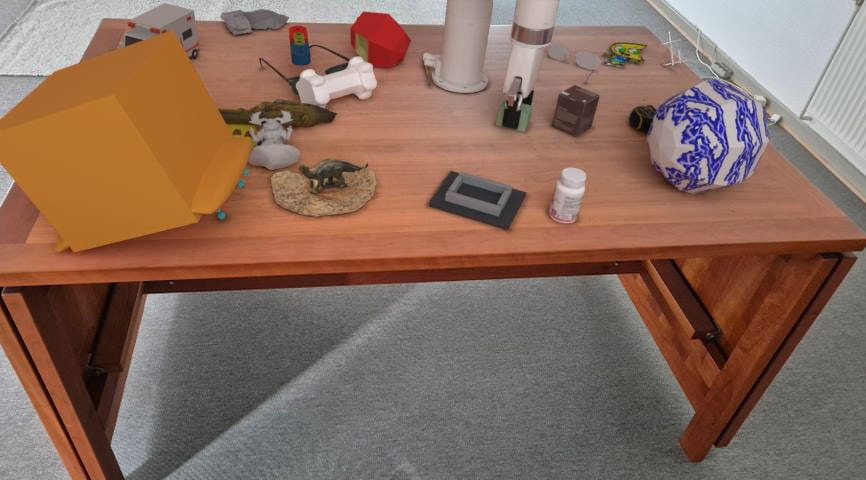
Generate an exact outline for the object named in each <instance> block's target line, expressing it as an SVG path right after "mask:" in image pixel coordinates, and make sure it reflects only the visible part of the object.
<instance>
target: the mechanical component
mask: <svg viewBox="0 0 866 480" xmlns="http://www.w3.org/2000/svg"><path fill="white" fill-rule="evenodd" d="M288 37H289V39H288V40H289V47H290V59H291V64H292V65H294V66H299V67H304V66H309V65H311V62H312V61H311V60H312V59H311V48H310V43H309V34H308V28H307V27H306V26H303V25H292V26H290V27H288Z"/></svg>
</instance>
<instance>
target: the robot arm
mask: <svg viewBox="0 0 866 480" xmlns="http://www.w3.org/2000/svg"><path fill="white" fill-rule="evenodd" d="M559 4H560V0H516V1H515V7H514V13H513V18H512V25H511V30H510V37H509V38H510V41H511V42H512V46H511V50H510V54H509V58H508V63H507V67H506V71H505V76H504V81H503V87H502V90H501V91H502V94H503V95H507V98H506V99H507V101H506V105H505V108H504V114H503V120H502V126H503V128H506V127H507V129H510V128H511V129H510V130H514V129H515V130H514V131H517V130H516V129H518V126H519V121H520V116H521V110H520V108H521V104H522V103H523V104H527V105H531V106H532V103H533V99H534V94H535V90H534V89H535V87H536V84H537V82H538V80H539V76H540V71H541V67H542V62H543V57H544V53H545V52H544V51H545V48H546V47H548V46H549V45H550V44H551V42H552V39H553V34H554V29H555V25H556V19H557V14H558V10H559V9H558V8H559ZM493 9H494V0H446V6H445V16H444V18H445V19H444V25H443V35H442V43H441V44H442V45H441V52H440V54H437V55H436V54H433V53H429V52H424V53H423V55H422V62H423V66H424V65H425V66H427V67H429V68H433V69H432V72H431V81H432V82H433V83H434V85H436V86H437V87H439V88H441V89H443V90H445V91H448V92H452V93H459V94H471V93H472V94H473V93H477V92H481V91H483V90H484V89H485V88H487V87H488V85H489V76H488V75H487V73H486V72H485V71H484V66H485V60H486V54H487V47H488V40H489V34H490V30H491V29H490V28H491V21H492V15H493ZM517 102H518V104H517ZM502 126H501V127H502Z"/></svg>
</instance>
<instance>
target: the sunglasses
mask: <svg viewBox="0 0 866 480" xmlns="http://www.w3.org/2000/svg"><path fill="white" fill-rule="evenodd" d="M309 47H310V49H311V48H313V47H317V48H320V49H322V50H324V51H327V52H329V53H331V54H333V55H335V56H337V57H339V58H341V59H342V60H344V61H346V62H344V63H340V64H337V65H334V66H333V65H332V66H331V67H329V68H327V69H325V70H323V71H321V72H320V71H319V72H316V71H315V73H316V74H318V75H322V74H324V75H328V74H332V73H335V72H339V71H343V70H345V69H346V68H347V66H348V63H349V60H350V59H351V58H348V57H347V56H345V55H343V54H340V53H339V52H336V51H335V50H332V49H330V48H328V47H325V46H322V45H319V44H311V45H309ZM258 61H259V64H260V67H261V69H264V66H263V63H265V64H266V65H267V66H268V67H269V68H271V69H272V70H273V71H274V72H275V73H276V74H277V75H278V76H279V77H281V78H282V79H283V80H284V81H285V82H286V83H287V84H288V85H289V87H291V92H292V94H294V95H295V96H297V97H300V96H299V93H298V90H297V89H296V83H297V82H298V81H299V79H300V74H299V75H295V76H292V77H286V76H285V75H284V74H282V73H281V72H280V71H279V70H278V69H276V67H274V66H273V65H271V63H269V62H268V61H267V60H265V59H264V58H262V57H259V59H258ZM262 62H263V63H262Z"/></svg>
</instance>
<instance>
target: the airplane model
mask: <svg viewBox="0 0 866 480" xmlns="http://www.w3.org/2000/svg"><path fill="white" fill-rule="evenodd" d="M681 41H682V40H681V39H677V40H672V37H671V31H669V30H668V41H667V42H662V43H660V46H662V45H667V44H669V50H670V58H671V62H669V63H663V64H662V66H665V67H666V66H669V65H671V66H672V67H674V66H675V64H679V65H682V63H683V62H688V61H691V58H688V59H684V57H683V55H681V50H682V46H679V45H680V42H681ZM675 44H676V46H679V48H680V49H679V50H678V47H674V51H673V46H675ZM676 51H677V55H678V56H675V59H674V55H676ZM676 60H677V61H676Z"/></svg>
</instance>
